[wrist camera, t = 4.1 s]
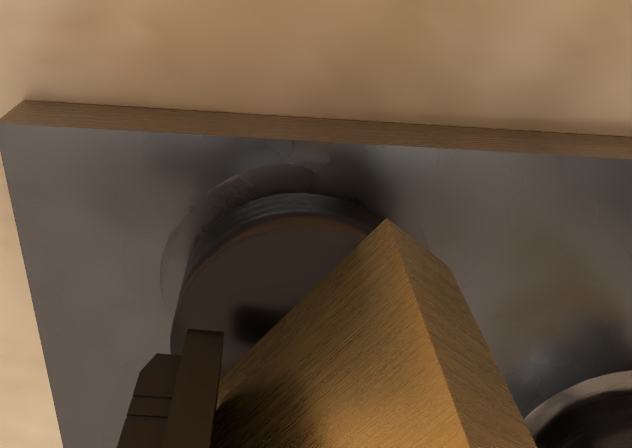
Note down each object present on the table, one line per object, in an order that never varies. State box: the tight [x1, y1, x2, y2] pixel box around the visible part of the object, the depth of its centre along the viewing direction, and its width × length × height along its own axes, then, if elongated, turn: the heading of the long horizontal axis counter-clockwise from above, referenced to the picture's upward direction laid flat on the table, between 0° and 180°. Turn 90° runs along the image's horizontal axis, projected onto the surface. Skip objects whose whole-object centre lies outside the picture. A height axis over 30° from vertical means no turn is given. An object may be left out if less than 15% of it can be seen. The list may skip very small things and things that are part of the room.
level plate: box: [0, 101, 632, 448], centre depth 17 cm, size 20×20×3 cm
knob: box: [170, 192, 537, 448], centre depth 10 cm, size 7×6×8 cm
